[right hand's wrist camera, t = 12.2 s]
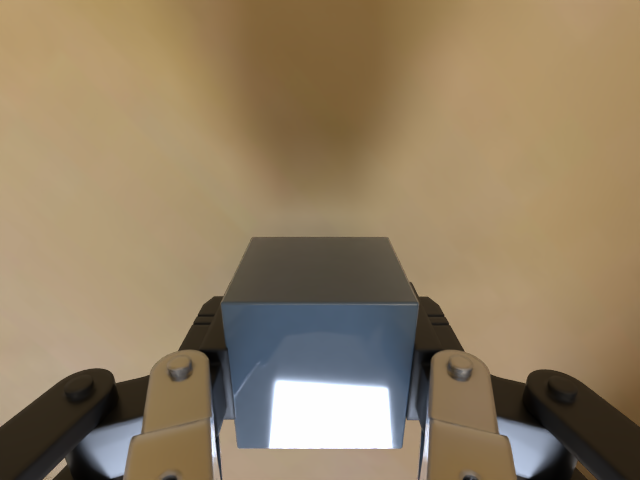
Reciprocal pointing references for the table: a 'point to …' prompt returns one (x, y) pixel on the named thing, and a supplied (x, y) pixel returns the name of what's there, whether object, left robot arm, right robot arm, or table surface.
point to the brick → (320, 343)
